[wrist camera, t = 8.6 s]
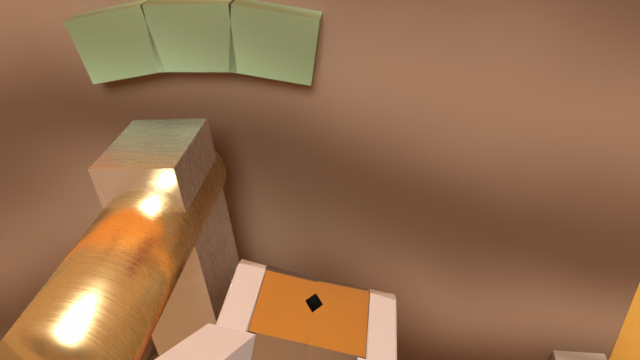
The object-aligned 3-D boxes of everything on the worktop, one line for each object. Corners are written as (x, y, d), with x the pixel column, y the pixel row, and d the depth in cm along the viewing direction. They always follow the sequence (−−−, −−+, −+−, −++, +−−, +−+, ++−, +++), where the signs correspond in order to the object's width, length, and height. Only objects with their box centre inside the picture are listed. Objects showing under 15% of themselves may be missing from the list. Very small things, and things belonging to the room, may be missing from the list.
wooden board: (532, 499, 25) (543, 549, 23) (63, 453, 28) (40, 494, 26) (720, -36, 12) (776, -14, 10) (-199, -18, 15) (-278, 1, 13)
